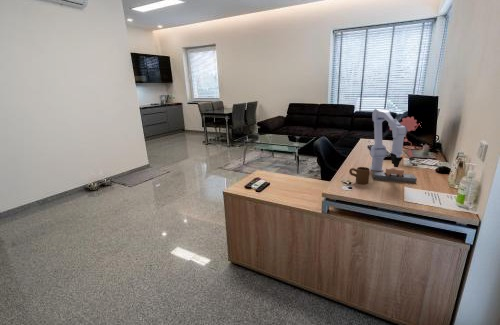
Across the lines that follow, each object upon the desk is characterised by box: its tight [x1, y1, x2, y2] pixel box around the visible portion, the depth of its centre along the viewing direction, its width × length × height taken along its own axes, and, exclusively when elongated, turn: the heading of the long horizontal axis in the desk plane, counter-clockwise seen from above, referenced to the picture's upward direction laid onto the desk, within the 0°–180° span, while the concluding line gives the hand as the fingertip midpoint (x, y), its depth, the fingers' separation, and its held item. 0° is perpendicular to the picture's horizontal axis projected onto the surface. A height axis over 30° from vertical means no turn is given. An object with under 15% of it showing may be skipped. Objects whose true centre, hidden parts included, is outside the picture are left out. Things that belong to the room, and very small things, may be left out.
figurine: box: [389, 116, 421, 157], centre depth 209 cm, size 15×26×35 cm, turn 69°
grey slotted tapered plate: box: [372, 171, 418, 184], centre depth 165 cm, size 8×24×3 cm, turn 70°
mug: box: [348, 166, 371, 185], centre depth 161 cm, size 12×8×9 cm, turn 70°
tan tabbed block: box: [385, 167, 405, 177], centre depth 164 cm, size 3×10×7 cm, turn 70°
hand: (394, 165), depth 163 cm, fingers open, 7 cm apart
